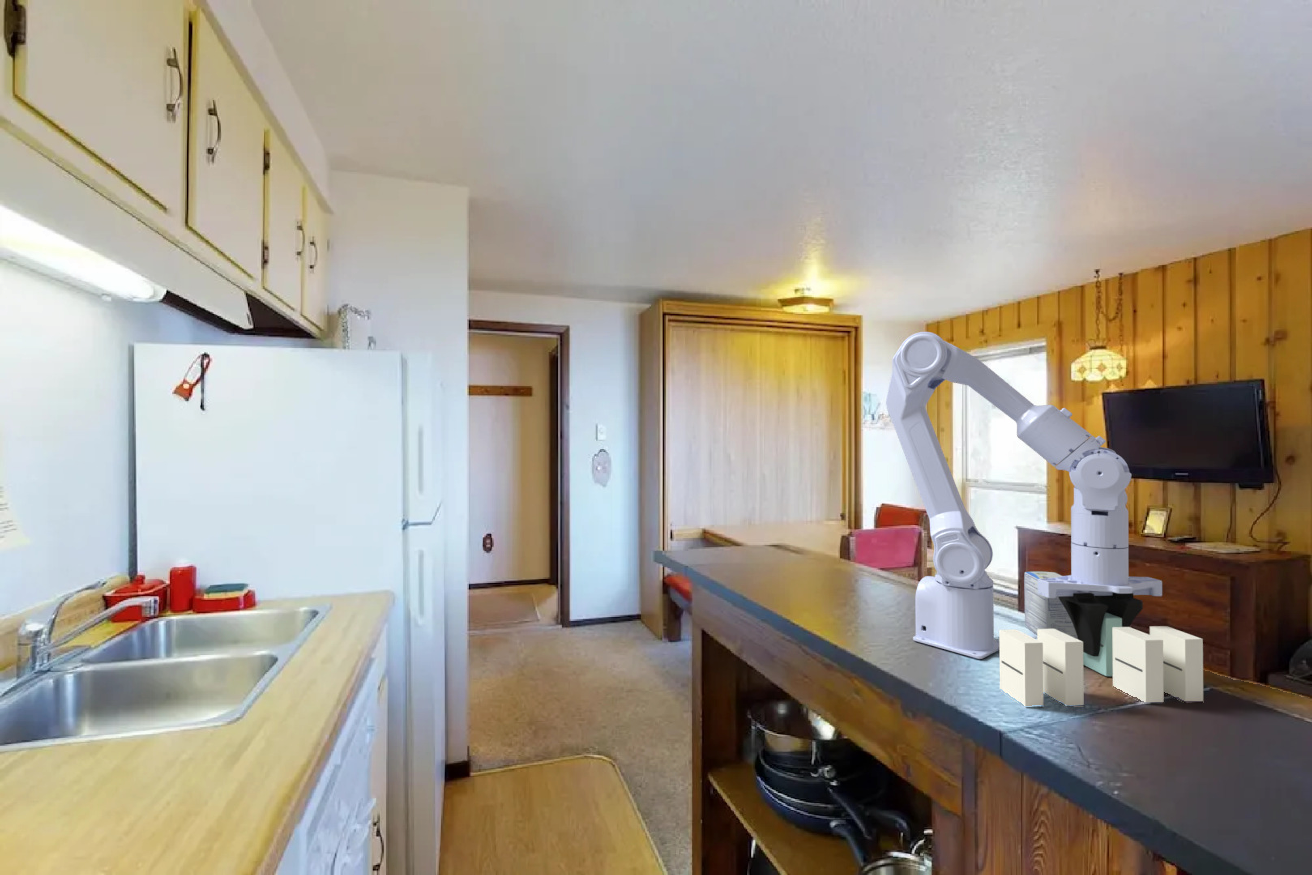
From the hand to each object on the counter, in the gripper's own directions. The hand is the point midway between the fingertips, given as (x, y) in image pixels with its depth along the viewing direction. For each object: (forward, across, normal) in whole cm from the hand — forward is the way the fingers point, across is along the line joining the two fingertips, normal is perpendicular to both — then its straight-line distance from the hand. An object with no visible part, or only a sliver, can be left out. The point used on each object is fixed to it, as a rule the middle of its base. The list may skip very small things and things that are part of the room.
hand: (1099, 653), depth 73 cm
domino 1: (+2, -15, -7) cm, 17 cm away
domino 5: (+2, +3, -7) cm, 8 cm away
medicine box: (+2, +3, +12) cm, 13 cm away
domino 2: (+2, -10, -7) cm, 13 cm away
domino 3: (+2, 0, 0) cm, 2 cm away
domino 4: (+2, -1, -7) cm, 7 cm away
